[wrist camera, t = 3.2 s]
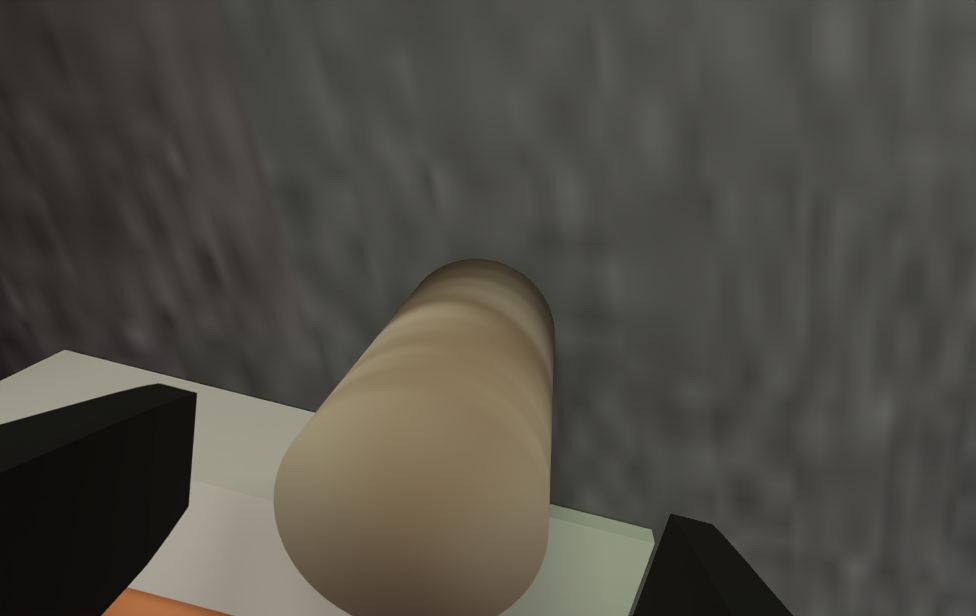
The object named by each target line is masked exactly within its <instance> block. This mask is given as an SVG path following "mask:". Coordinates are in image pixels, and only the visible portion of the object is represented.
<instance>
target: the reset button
mask: <svg viewBox="0 0 976 616" xmlns="http://www.w3.org/2000/svg"><path fill="white" fill-rule="evenodd" d="M101 616H233V615H230V614H226V613H222V612H218V611H215V610H211V609H207V608H203V607H200V606H196V605H192V604H188V603H185V602H181V601H177V600H173V599H170V598H166V597H162V596H158V595H155V594H151V593H147V592H143V591H139V590H136V589H132V588H128V587H127V588H126V589H125V590H124V591H123V592H122V594H121V595H120V596H119V597H118V598H117V599H116V600H115V601H114V602H113V603H112V605H111V606H110V607H109V608H108V609H107V610H106V611H105V612H104V613H103V614H102V615H101Z"/></svg>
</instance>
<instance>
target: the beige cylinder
mask: <svg viewBox="0 0 976 616" xmlns="http://www.w3.org/2000/svg"><path fill="white" fill-rule="evenodd" d="M553 366H554V322H553V318H552V314H551V311H550V308H549V306H548V304H547V302H546V300H545V298H544V296H543V295H542V293H541V292H540V291H539V289H538V288H537V287H536V286H535V285H534V284H533V283H532V282H531V280H529V279H528V278H527V277H526V276H524V275H523V274H522V273H520V272H518V271H517V270H515V269H514V268H511V267H509V266H507V265H505V264H502V263H498V262H495V261H490V260H484V259H469V260H461V261H457V262H453V263H450V264H448V265H445V266H443V267H441V268H439V269H437V270H436V271H434V272H433V273H431V274H430V275H429V276H427V277H426V278H425V279H424V280H423V281H422V282H421V283H420V285H419V286H418V287H417V288H416V289H415V291H414V292H413V293H412V294H411V296H410V297H409V298H408V299H407V301H406V302H405V303H404V304H403V306H402V307H401V308H400V309H399V310H398V312H397V313H396V314H395V315H394V317H393V318H392V319H391V320H390V322H389V323H388V324H387V325H386V327H385V328H384V329H383V330H382V331H381V333H380V334H379V335H378V336H377V338H376V339H375V340H374V341H373V343H372V344H371V345H370V346H369V348H368V349H367V350H366V351H365V352H364V354H363V355H362V356H361V357H360V359H359V360H358V361H357V362H356V364H355V365H354V366H353V367H352V369H351V370H350V371H349V372H348V373H347V375H346V376H345V377H344V378H343V380H342V381H341V382H340V383H339V385H338V386H337V387H336V388H335V390H334V391H333V392H332V393H331V394H330V396H329V397H328V398H327V399H326V401H325V402H324V403H323V404H322V406H321V407H320V408H319V409H318V411H317V412H316V413H315V414H314V415H313V417H312V418H311V419H310V420H309V422H308V423H307V424H306V425H305V427H304V428H303V429H302V430H301V432H300V433H299V434H298V435H297V437H296V438H295V439H294V440H293V442H292V443H291V444H290V446H289V448H288V449H287V451H286V453H285V455H284V456H283V458H282V461H281V464H280V466H279V469H278V472H277V476H276V481H275V486H274V501H273V504H274V514H275V520H276V524H277V529H278V533H279V535H280V538H281V540H282V543H283V546H284V548H285V550H286V552H287V554H288V555H289V557H290V559H291V561H292V562H293V564H294V565H295V567H296V568H297V569H298V571H299V572H300V574H301V575H302V576H303V577H304V578H305V579H306V581H307V582H308V583H309V584H310V585H311V586H312V587H313V588H314V589H315V590H316V591H317V592H318V593H320V594H321V595H322V596H323V597H324V598H325V599H327V600H328V601H329V602H331V603H332V604H334V605H335V606H336V607H338V608H339V609H341V610H343V611H345V612H346V613H348V614H350V615H352V616H498V615H499V614H501V613H502V612H504V611H505V610H507V609H508V608H509V607H511V606H512V605H513V604H514V603H515V602H516V601H517V600H518V599H519V598H521V597H522V595H523V594H524V593H525V592H526V591H527V589H528V588H529V587H530V586H531V584H532V583H533V581H534V579H535V577H536V576H537V574H538V572H539V570H540V568H541V565H542V562H543V560H544V557H545V553H546V548H547V544H548V531H549V502H550V468H551V434H552V400H553Z"/></svg>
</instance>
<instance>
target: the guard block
mask: <svg viewBox="0 0 976 616" xmlns="http://www.w3.org/2000/svg"><path fill="white" fill-rule="evenodd" d="M157 383H160V384H164V385H168V386H172V387H176V388H180V389H184V390H188V391H192V392H196V393H197V403H196V416H195V430H194V443H193V456H192V470H191V483H190V496H189V507H188V508H187V510H186V511H185V513H184V514H183V516H182V517H181V518H180V520H179V521H178V523H177V524H176V526H175V527H174V529H173V530H172V532H171V533H170V534H169V536H168V537H167V539H166V540H165V541H164V543H163V544H162V546H161V547H160V548H159V550H158V551H157V552H156V554H155V555H154V556H153V558H152V559H151V560H150V562H149V563H148V565H147V566H146V567H145V568H144V569H143V570H142V571H141V572H140V574H139V575H138V576H137V577H136V578H135V579H134V580H133V581H132V583H131V584H130V585H129V586H128V588H132V589H136V590H139V591H143V592H147V593H151V594H155V595H158V596H162V597H166V598H170V599H173V600H177V601H181V602H185V603H188V604H192V605H196V606H200V607H203V608H207V609H211V610H215V611H218V612H222V613H226V614H230V615H233V616H352V615H350V614H348V613H346V612H345V611H343V610H341V609H339V608H338V607H336V606H335V605H334V604H332V603H331V602H329V601H328V600H327V599H325V598H324V597H323V596H322V595H321V594H320V593H318V592H317V591H316V590H315V589H314V588H313V587H312V586H311V585H310V584H309V583H308V582H307V581H306V579H305V578H304V577H303V576H302V575H301V574H300V572H299V571H298V569H297V568H296V567H295V565H294V564H293V562H292V561H291V559H290V557H289V555H288V554H287V552H286V550H285V548H284V546H283V543H282V540H281V538H280V535H279V533H278V529H277V524H276V520H275V514H274V504H273V501H274V486H275V481H276V476H277V472H278V469H279V466H280V464H281V461H282V458H283V456H284V455H285V453H286V451H287V449H288V448H289V446H290V444H291V443H292V442H293V440H294V439H295V438H296V437H297V435H298V434H299V433H300V432H301V430H302V429H303V428H304V427H305V425H306V424H307V423H308V422H309V420H310V419H311V418H312V417H313V415H314V414H315V413H313V412H310V411H306V410H302V409H298V408H294V407H290V406H286V405H282V404H278V403H274V402H270V401H266V400H262V399H258V398H254V397H250V396H246V395H242V394H238V393H234V392H230V391H226V390H222V389H218V388H214V387H210V386H206V385H202V384H198V383H194V382H190V381H186V380H182V379H178V378H174V377H170V376H167V375H163V374H159V373H155V372H151V371H147V370H143V369H139V368H135V367H131V366H127V365H123V364H119V363H115V362H111V361H107V360H103V359H99V358H95V357H91V356H87V355H83V354H79V353H75V352H71V351H67V350H63V351H61V352H59V353H57V354H55V355H53V356H51V357H49V358H47V359H45V360H43V361H41V362H39V363H36V364H34V365H32V366H30V367H28V368H26V369H24V370H22V371H20V372H18V373H16V374H14V375H12V376H10V377H8V378H5V379H3V380H1V381H0V424H3V423H7V422H11V421H14V420H18V419H22V418H25V417H29V416H32V415H36V414H40V413H43V412H47V411H50V410H54V409H58V408H61V407H65V406H68V405H72V404H76V403H79V402H83V401H86V400H90V399H94V398H97V397H101V396H105V395H108V394H112V393H116V392H120V391H124V390H128V389H132V388H136V387H141V386H145V385H151V384H157Z"/></svg>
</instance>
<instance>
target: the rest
mask: <svg viewBox="0 0 976 616" xmlns="http://www.w3.org/2000/svg"><path fill="white" fill-rule="evenodd" d="M654 544H655V543H654V539H653V534H652V530H651V529H647V528H643V527H639V526H635V525H631V524H627V523H623V522H619V521H615V520H612V519H608V518H604V517H600V516H596V515H592V514H588V513H584V512H580V511H576V510H572V509H568V508H564V507H560V506H556V505H552V504H549V531H548V544H547V548H546V553H545V557H544V560H543V562H542V565H541V568H540V570H539V572H538V574H537V576H536V577H535V579H534V581H533V583H532V584H531V586H530V587H529V588H528V589H527V591H526V592H525V593H524V594H523V595H522V597H521V598H519V599H518V600H517V601H516V602H515V603H514V604H513V605H512V606H511V607H509V608H508V609H507V610H505V611H504V612H502V613H501V614H499V615H498V616H628V615H629V612H630V609H631V607H632V604H633V601H634V598H635V596H636V593H637V590H638V587H639V585H640V582H641V579H642V577H643V574H644V571H645V568H646V566H647V563H648V560H649V557H650V555H651V552H652V549H653V547H654Z"/></svg>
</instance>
